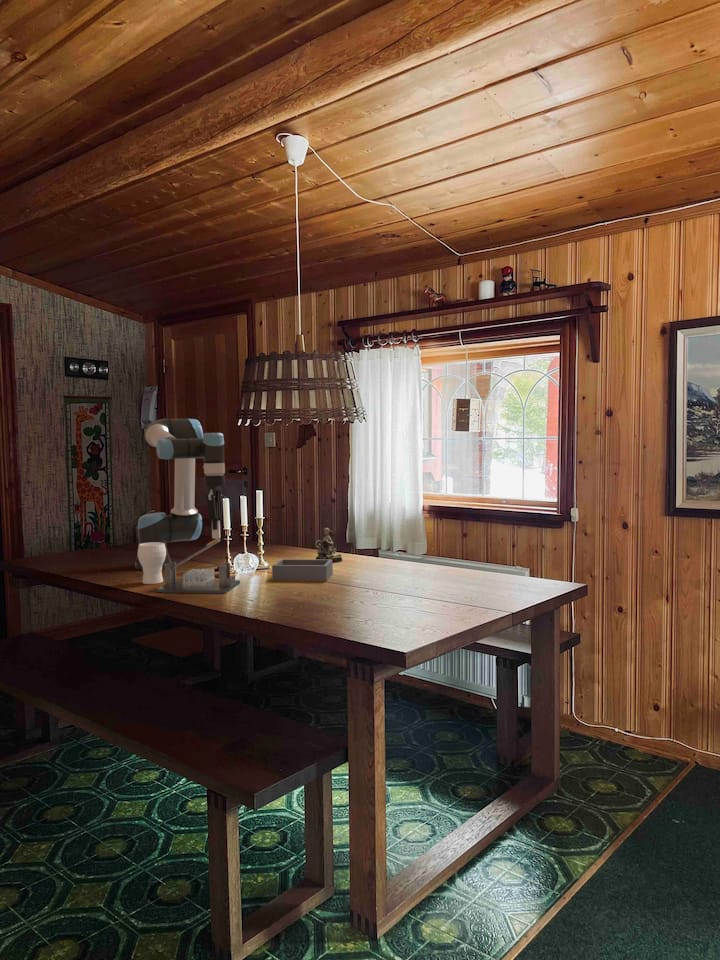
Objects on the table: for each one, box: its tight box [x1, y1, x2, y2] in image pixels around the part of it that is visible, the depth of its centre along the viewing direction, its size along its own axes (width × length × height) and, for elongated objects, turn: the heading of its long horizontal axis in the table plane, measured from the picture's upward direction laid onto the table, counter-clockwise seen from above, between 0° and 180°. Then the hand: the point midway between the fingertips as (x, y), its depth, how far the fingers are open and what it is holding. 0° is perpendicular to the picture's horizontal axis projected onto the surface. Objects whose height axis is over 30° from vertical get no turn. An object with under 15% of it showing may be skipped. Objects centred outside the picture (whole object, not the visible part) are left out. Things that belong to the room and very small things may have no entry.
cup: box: [137, 542, 166, 585], centre depth 283 cm, size 11×11×15 cm
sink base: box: [155, 561, 241, 595], centre depth 272 cm, size 26×18×9 cm
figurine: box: [314, 527, 343, 564], centre depth 325 cm, size 12×11×15 cm
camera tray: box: [271, 558, 334, 582], centre depth 289 cm, size 14×21×6 cm
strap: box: [171, 538, 221, 571], centre depth 271 cm, size 23×3×2 cm, turn 83°
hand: (216, 538), depth 270 cm, fingers closed
